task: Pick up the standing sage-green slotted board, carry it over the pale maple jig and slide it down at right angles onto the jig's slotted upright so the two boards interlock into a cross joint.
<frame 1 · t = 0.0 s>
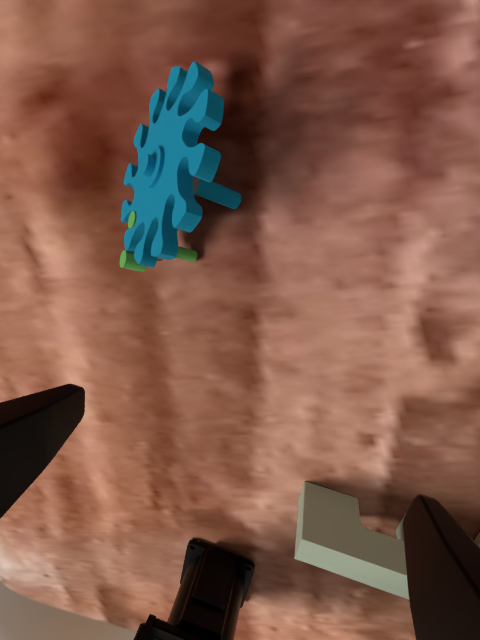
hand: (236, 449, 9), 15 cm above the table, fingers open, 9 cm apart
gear: (187, 184, 22), on the table
sage board: (376, 514, 26), on the table
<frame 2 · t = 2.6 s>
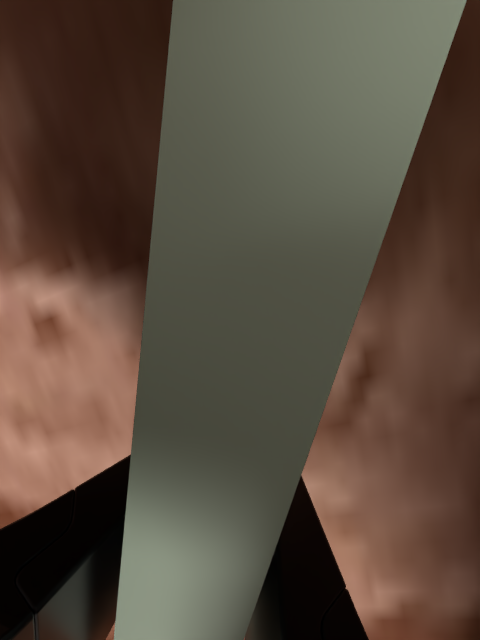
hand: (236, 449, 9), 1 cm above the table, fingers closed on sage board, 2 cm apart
sage board: (276, 295, 8), on the table, touching gripper
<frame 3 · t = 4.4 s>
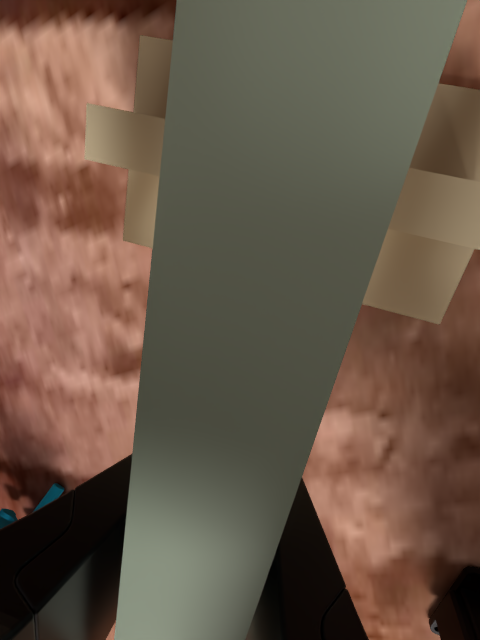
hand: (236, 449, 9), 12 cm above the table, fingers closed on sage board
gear: (58, 507, 31), on the table
maple jig: (294, 184, 17), on the table
sage board: (276, 298, 8), point 11 cm above the table, touching gripper
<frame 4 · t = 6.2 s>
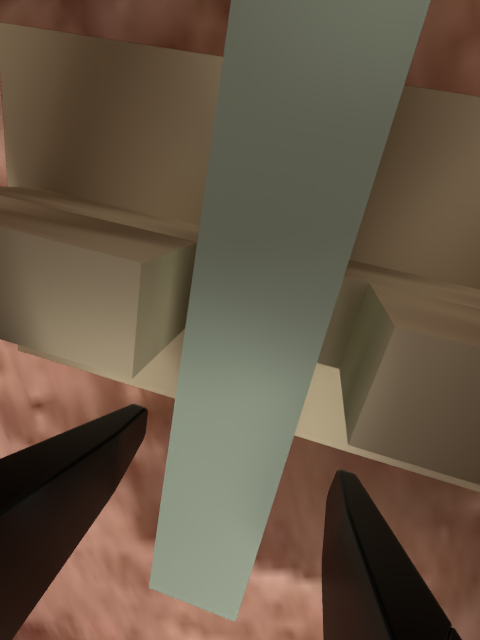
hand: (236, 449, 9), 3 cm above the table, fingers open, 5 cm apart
maple jig: (284, 276, 10), on the table
sage board: (280, 287, 10), point 1 cm above the table, touching maple jig
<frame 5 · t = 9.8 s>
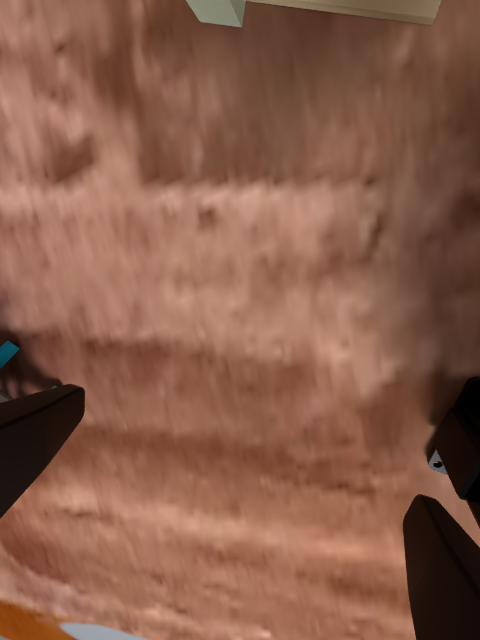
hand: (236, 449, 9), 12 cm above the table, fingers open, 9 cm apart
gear: (13, 376, 27), on the table
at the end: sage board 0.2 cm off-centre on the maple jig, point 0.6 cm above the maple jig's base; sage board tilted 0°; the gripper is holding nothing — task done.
